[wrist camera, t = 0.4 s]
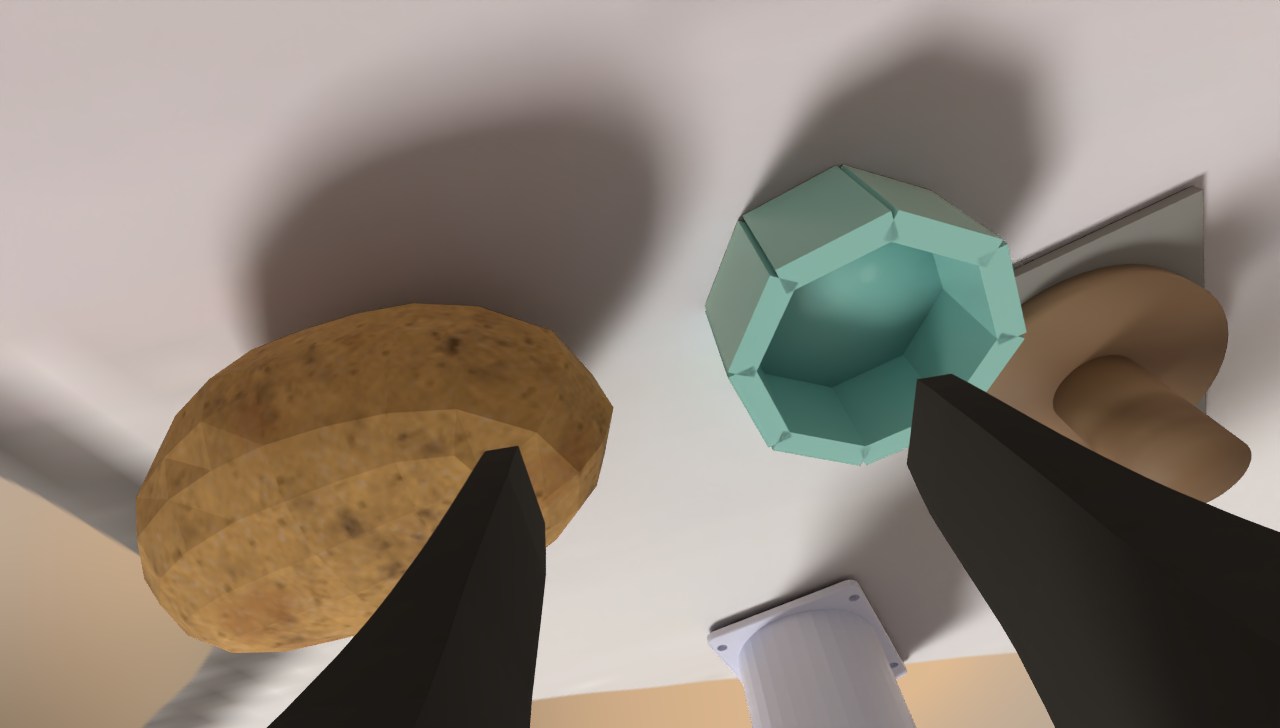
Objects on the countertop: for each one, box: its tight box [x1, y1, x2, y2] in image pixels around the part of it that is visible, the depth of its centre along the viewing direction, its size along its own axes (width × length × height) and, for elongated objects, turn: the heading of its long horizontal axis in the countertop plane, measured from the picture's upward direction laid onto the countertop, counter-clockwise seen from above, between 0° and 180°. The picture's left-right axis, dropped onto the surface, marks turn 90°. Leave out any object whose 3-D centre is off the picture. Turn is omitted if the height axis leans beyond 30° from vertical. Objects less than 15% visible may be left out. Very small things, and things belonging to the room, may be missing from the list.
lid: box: [987, 264, 1251, 503], centre depth 21 cm, size 9×9×6 cm
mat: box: [1013, 186, 1206, 414], centre depth 23 cm, size 11×9×1 cm
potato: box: [136, 303, 613, 653], centre depth 19 cm, size 10×14×8 cm
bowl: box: [705, 165, 1026, 466], centre depth 19 cm, size 8×8×4 cm
